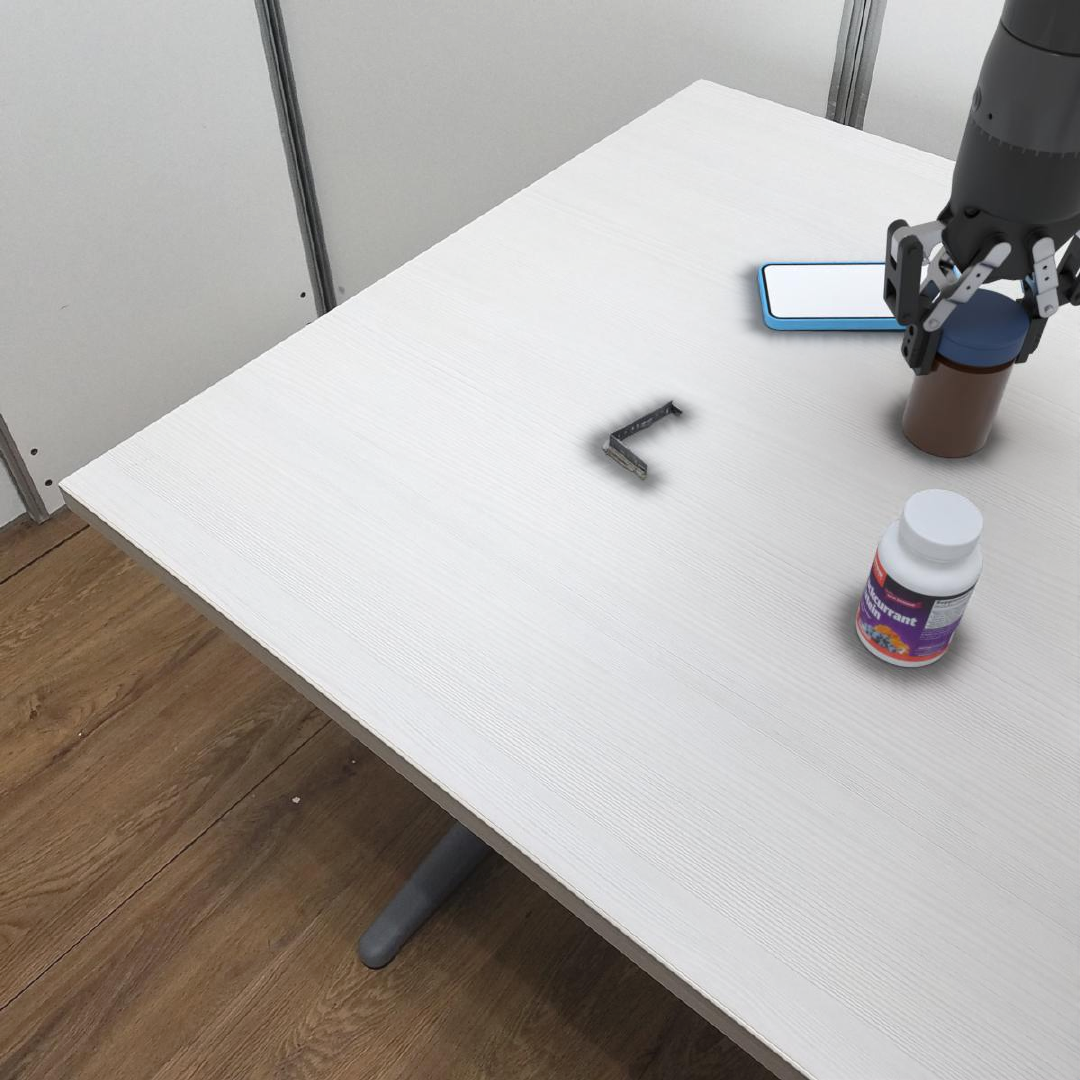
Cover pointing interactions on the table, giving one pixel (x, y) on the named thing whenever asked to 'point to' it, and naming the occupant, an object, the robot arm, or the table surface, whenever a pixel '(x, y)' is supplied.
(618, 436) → the bent metal strip
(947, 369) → the jar
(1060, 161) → the robot arm
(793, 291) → the smartphone
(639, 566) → the table surface
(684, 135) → the table surface
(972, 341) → the jar lid
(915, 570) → the pill bottle
